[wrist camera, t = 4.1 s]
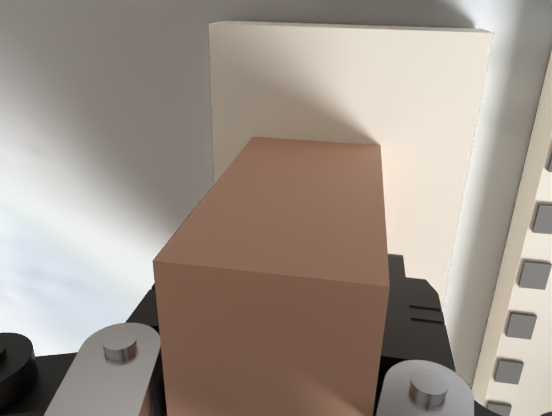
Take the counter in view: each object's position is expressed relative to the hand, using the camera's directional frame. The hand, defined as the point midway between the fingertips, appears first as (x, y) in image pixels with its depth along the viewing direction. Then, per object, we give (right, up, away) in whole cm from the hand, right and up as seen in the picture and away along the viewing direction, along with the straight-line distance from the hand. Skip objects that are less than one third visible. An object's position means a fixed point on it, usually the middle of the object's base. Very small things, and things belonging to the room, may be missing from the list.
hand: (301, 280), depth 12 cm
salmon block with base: (+1, +1, +2) cm, 3 cm away
